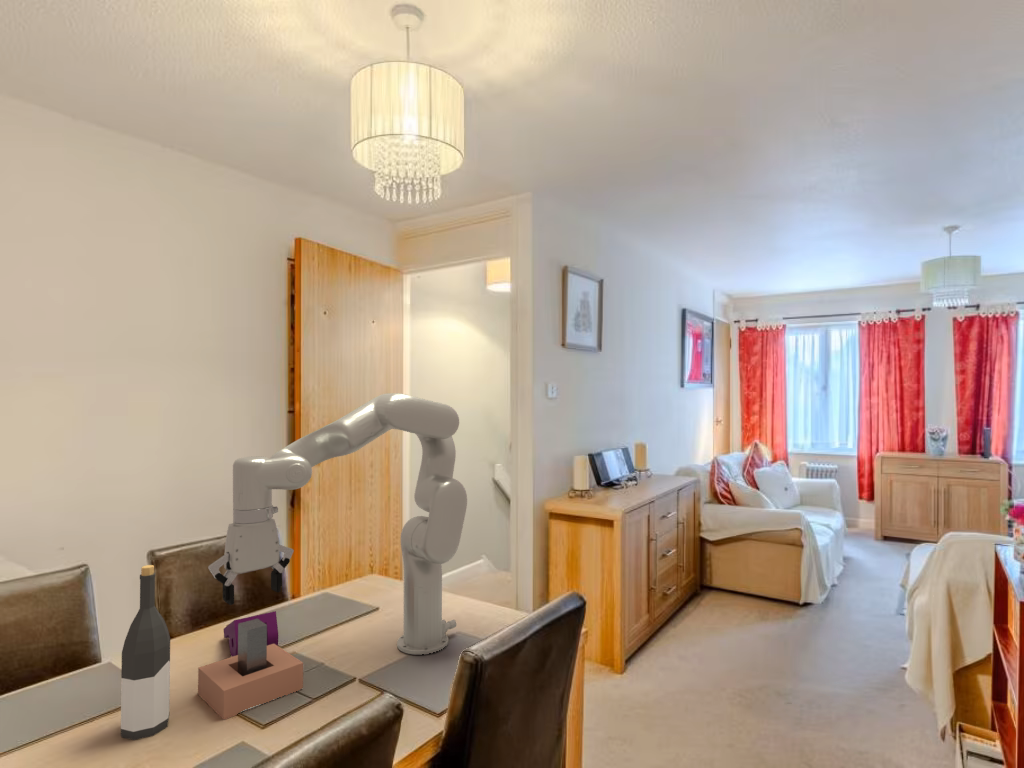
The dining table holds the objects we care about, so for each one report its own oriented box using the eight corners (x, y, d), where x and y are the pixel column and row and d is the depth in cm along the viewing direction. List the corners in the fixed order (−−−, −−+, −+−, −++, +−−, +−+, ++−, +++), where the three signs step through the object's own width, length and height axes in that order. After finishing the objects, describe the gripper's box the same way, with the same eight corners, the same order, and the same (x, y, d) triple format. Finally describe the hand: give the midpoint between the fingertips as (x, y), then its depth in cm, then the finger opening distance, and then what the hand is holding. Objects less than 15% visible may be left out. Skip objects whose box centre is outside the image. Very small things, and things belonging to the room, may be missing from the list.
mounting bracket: (223, 666, 145) (237, 658, 132) (220, 631, 148) (233, 620, 135) (262, 656, 151) (279, 647, 138) (259, 622, 154) (275, 611, 141)
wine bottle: (135, 716, 111) (137, 560, 112) (178, 714, 112) (180, 559, 113) (109, 741, 103) (112, 573, 104) (156, 739, 104) (158, 572, 105)
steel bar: (256, 683, 124) (257, 618, 124) (266, 692, 121) (266, 624, 121) (237, 690, 121) (238, 623, 122) (246, 699, 118) (247, 630, 118)
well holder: (273, 667, 131) (273, 643, 132) (303, 689, 122) (303, 662, 122) (198, 694, 120) (198, 667, 120) (223, 719, 110) (223, 690, 110)
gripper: (284, 507, 131) (285, 582, 130) (202, 520, 118) (202, 603, 118) (300, 511, 125) (300, 590, 125) (216, 525, 113) (216, 613, 113)
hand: (253, 596), depth 121 cm, fingers open, 9 cm apart
